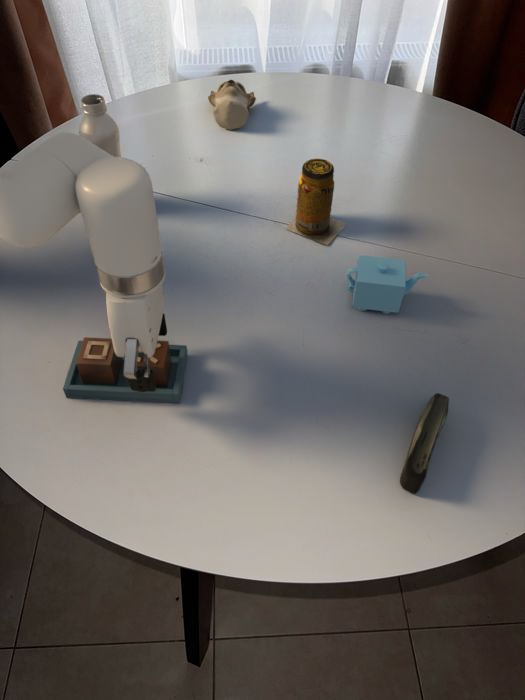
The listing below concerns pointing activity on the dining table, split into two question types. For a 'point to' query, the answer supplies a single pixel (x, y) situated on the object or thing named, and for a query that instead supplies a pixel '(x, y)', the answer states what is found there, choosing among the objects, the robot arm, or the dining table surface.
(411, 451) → the dark grey rounded bar
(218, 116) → the ceramic sculpture
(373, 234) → the dining table surface
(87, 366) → the tile
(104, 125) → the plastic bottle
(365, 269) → the teapot
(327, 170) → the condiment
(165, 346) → the tile
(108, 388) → the tray
